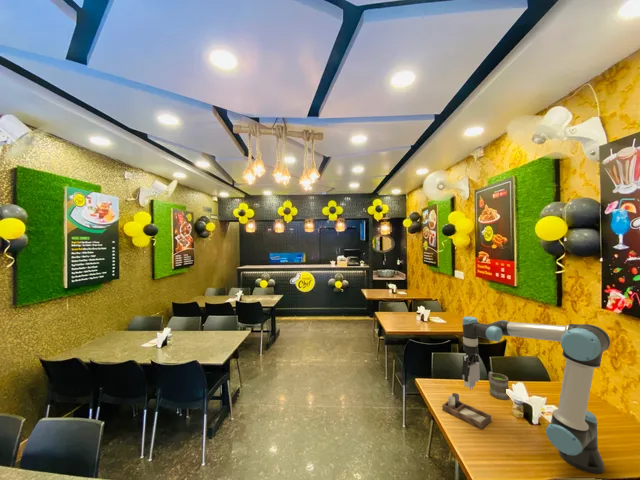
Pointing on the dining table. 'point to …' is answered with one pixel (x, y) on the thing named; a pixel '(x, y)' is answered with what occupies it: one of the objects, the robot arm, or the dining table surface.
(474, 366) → the charger
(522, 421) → the dining table surface
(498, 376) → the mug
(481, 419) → the caddy
